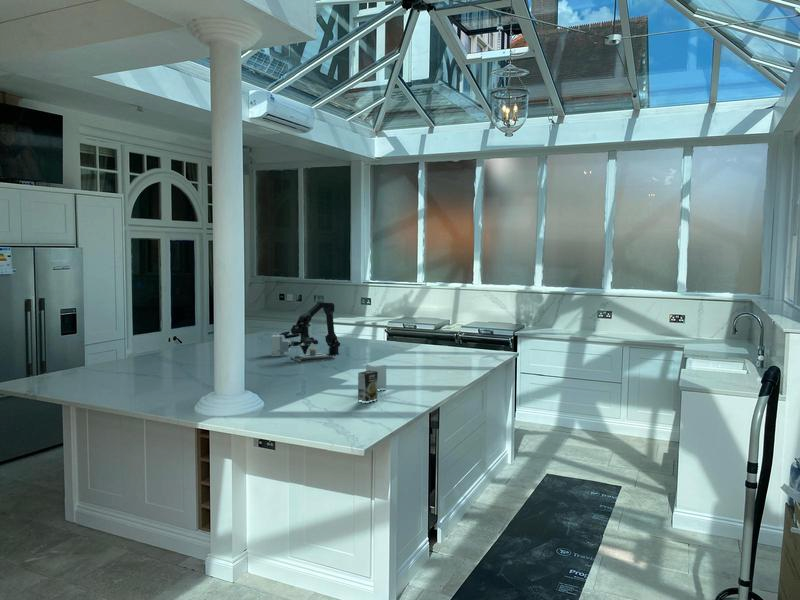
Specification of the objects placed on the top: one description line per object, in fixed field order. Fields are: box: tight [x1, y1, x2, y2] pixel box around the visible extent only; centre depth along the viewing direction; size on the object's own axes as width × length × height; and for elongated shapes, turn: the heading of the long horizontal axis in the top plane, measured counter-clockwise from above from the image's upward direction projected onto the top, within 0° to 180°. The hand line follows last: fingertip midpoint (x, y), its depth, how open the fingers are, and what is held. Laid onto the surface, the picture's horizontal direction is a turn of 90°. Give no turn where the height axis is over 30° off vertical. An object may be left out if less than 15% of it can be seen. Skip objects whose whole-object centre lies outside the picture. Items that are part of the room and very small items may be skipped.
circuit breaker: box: [270, 334, 292, 357], centre depth 471 cm, size 8×14×15 cm, turn 89°
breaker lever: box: [309, 347, 316, 356], centre depth 458 cm, size 3×3×6 cm
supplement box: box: [365, 362, 387, 389], centre depth 365 cm, size 9×9×15 cm
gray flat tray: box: [293, 355, 332, 361], centre depth 458 cm, size 23×14×1 cm, turn 120°
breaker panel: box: [290, 352, 336, 364], centre depth 458 cm, size 26×20×3 cm
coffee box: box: [357, 370, 379, 401], centre depth 339 cm, size 9×6×16 cm
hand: (304, 354), depth 455 cm, fingers closed
